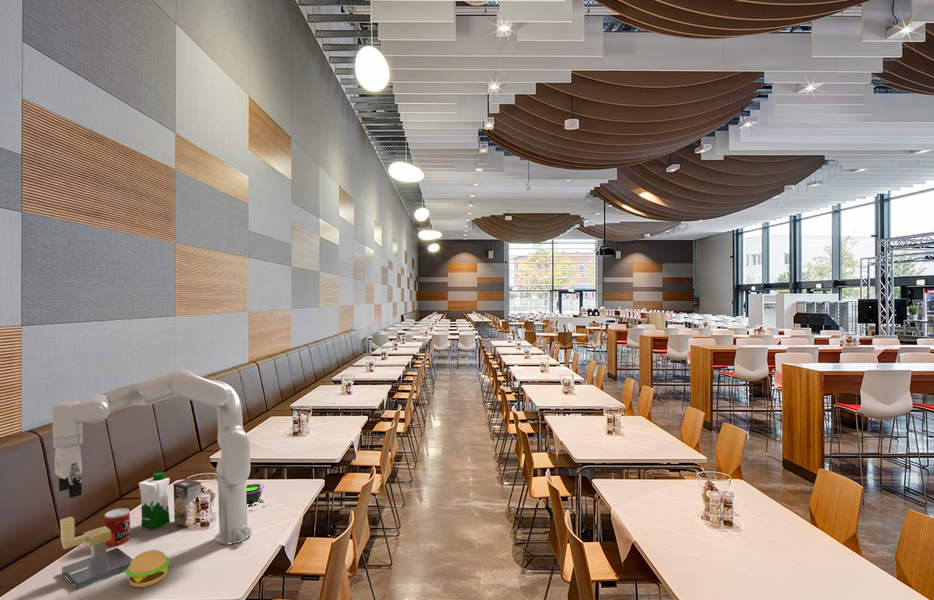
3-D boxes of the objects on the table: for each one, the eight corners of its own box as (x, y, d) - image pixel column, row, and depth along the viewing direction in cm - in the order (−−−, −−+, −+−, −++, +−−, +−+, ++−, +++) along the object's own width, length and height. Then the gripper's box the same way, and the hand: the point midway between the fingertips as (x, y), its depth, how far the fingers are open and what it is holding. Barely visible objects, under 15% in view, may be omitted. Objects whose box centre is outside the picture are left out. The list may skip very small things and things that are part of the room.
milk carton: (173, 522, 207) (172, 472, 206) (152, 532, 198) (150, 480, 198) (158, 518, 210) (156, 470, 210) (137, 528, 202) (135, 478, 201)
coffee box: (173, 523, 206) (172, 483, 205) (188, 516, 211) (187, 478, 211) (187, 527, 201) (186, 487, 201) (202, 521, 207) (201, 481, 207)
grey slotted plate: (135, 567, 173) (134, 540, 172) (77, 589, 160) (76, 561, 160) (117, 553, 182) (116, 528, 182) (61, 573, 170) (61, 546, 169)
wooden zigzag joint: (105, 534, 175) (104, 505, 175) (111, 539, 171) (110, 510, 171) (60, 549, 166) (58, 518, 165) (65, 555, 162) (63, 523, 162)
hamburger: (121, 581, 164) (120, 554, 164) (162, 565, 173) (161, 540, 173) (132, 595, 156) (131, 567, 156) (175, 578, 165) (174, 551, 165)
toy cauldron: (277, 500, 226) (276, 476, 226) (249, 514, 213) (248, 488, 212) (252, 495, 232) (251, 471, 232) (224, 508, 219) (223, 483, 219)
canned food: (118, 547, 187) (117, 517, 186) (99, 545, 188) (98, 516, 188) (135, 537, 194) (134, 508, 194) (117, 535, 196) (117, 507, 196)
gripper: (45, 439, 167) (47, 491, 168) (62, 447, 157) (64, 503, 157) (73, 433, 173) (75, 483, 174) (91, 441, 163) (93, 494, 163)
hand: (70, 492), depth 165 cm, fingers open, 9 cm apart
